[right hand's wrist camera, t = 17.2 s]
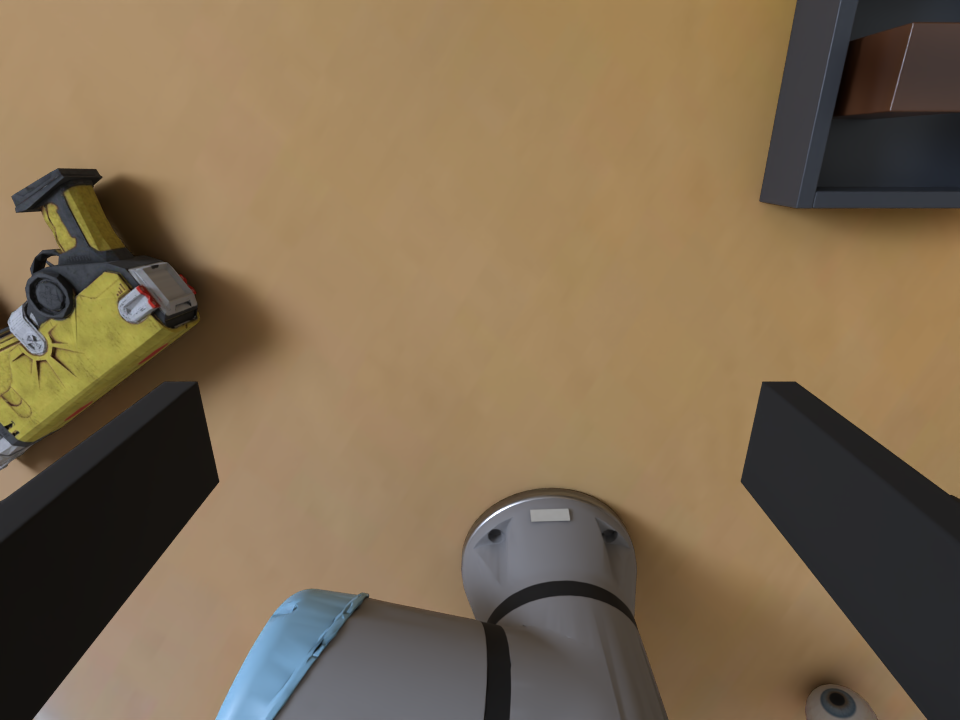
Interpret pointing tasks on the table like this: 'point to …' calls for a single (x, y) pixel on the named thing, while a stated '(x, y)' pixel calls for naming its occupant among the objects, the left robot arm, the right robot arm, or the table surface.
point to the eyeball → (837, 704)
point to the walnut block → (902, 73)
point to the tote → (855, 120)
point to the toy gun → (81, 314)
